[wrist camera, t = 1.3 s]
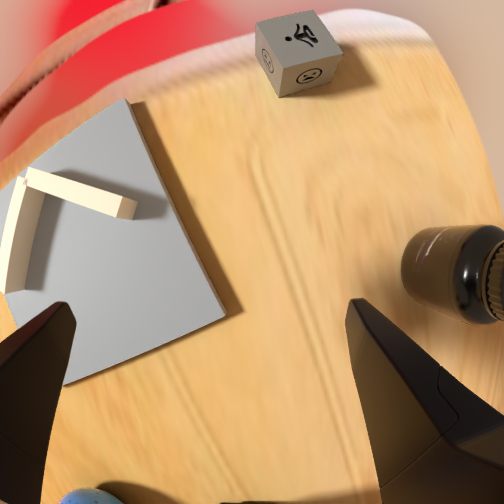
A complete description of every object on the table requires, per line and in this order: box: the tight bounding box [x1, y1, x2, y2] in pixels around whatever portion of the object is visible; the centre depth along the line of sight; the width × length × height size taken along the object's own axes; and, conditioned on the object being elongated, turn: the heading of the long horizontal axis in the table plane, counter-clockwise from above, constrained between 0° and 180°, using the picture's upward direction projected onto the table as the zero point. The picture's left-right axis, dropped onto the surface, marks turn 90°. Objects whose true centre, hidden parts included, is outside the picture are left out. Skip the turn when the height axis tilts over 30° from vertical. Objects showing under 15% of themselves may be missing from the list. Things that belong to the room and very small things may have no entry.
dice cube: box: [255, 10, 344, 98], centre depth 21 cm, size 5×5×5 cm
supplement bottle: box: [401, 225, 504, 326], centre depth 18 cm, size 7×7×12 cm
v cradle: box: [0, 98, 227, 386], centre depth 22 cm, size 20×20×4 cm
